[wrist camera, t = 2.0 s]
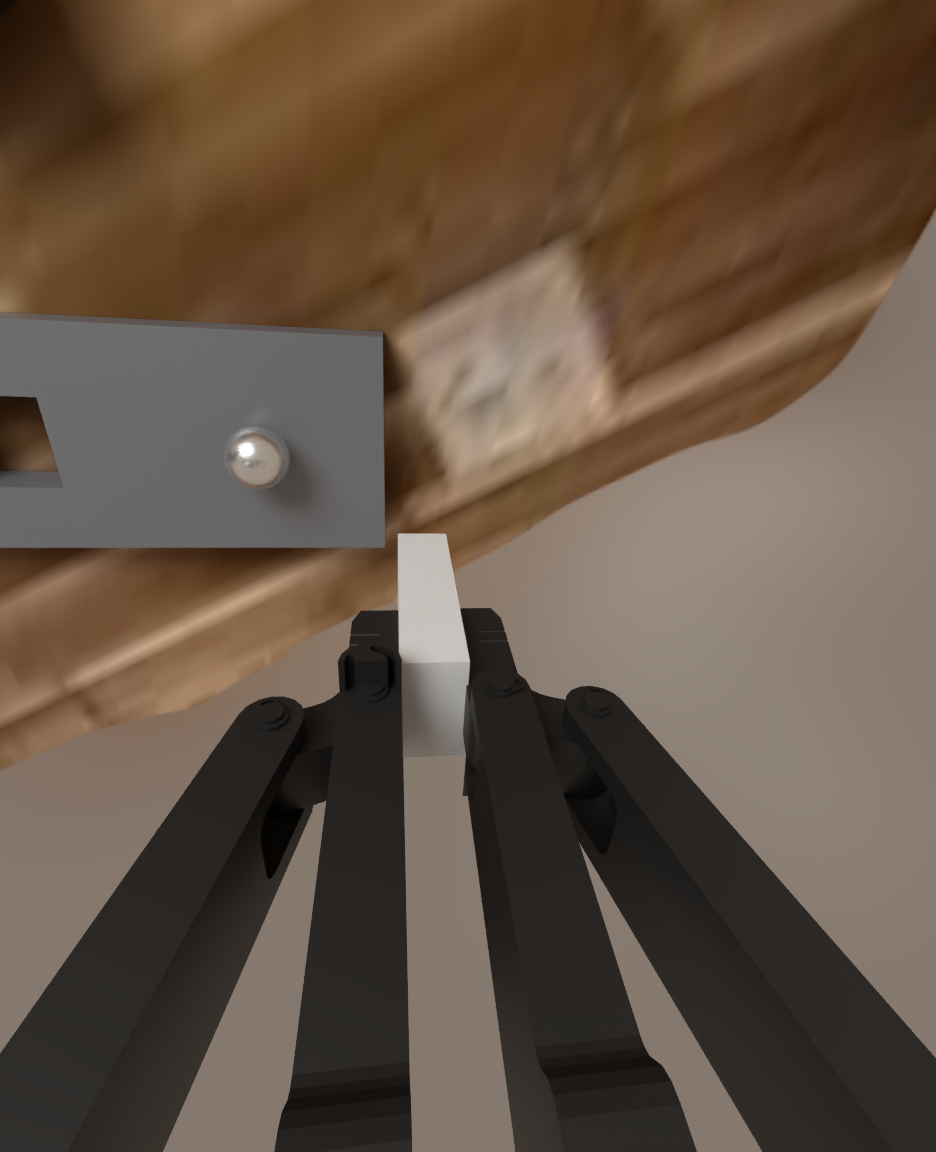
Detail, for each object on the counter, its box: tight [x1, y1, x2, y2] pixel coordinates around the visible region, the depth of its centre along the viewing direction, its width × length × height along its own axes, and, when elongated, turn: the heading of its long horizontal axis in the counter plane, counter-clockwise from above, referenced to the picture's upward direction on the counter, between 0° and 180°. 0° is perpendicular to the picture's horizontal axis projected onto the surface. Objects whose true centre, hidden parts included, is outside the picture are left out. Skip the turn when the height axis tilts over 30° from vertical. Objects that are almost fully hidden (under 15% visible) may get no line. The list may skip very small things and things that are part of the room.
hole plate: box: [0, 312, 385, 548], centre depth 28 cm, size 24×11×2 cm, turn 86°
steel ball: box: [223, 426, 290, 490], centre depth 27 cm, size 3×3×3 cm
